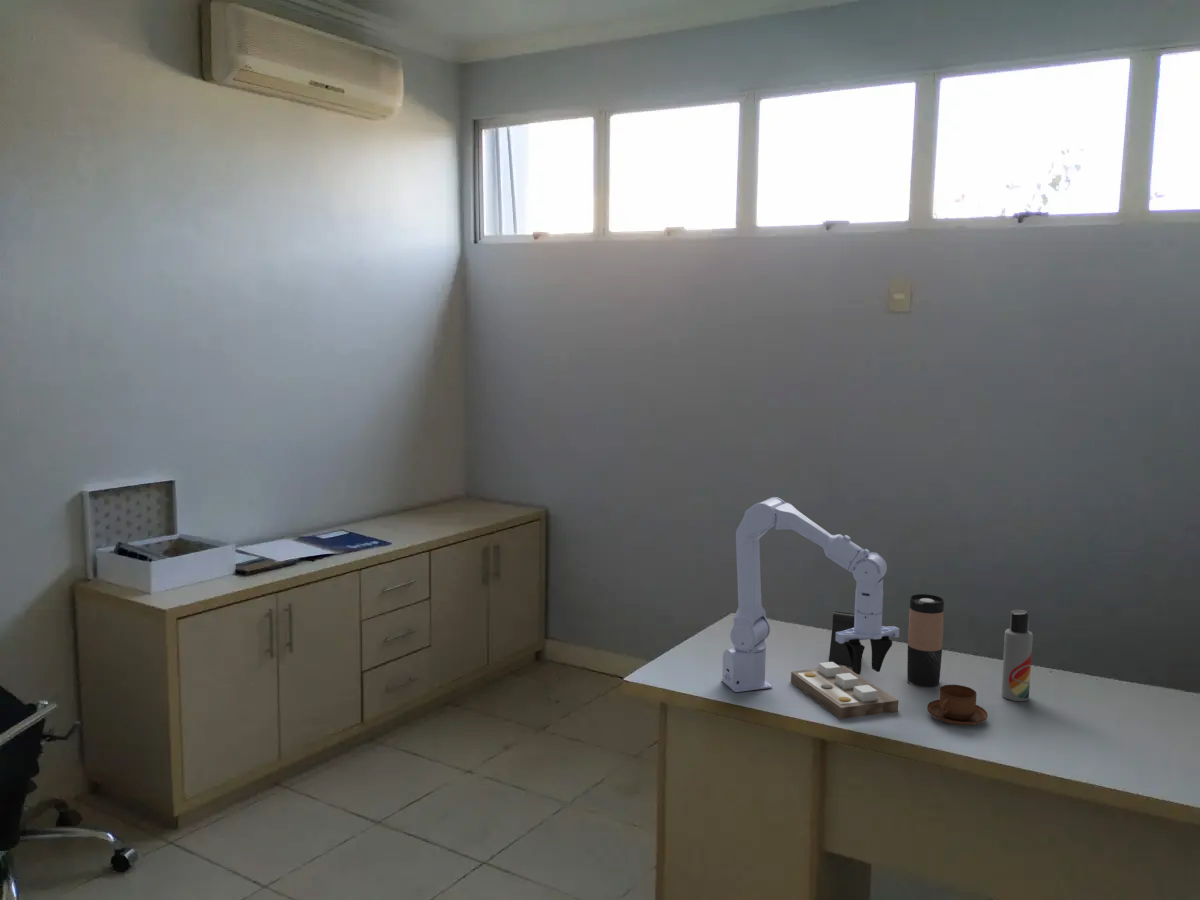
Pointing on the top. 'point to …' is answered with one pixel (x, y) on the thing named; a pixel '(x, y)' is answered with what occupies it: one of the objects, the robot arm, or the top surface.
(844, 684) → the button middle
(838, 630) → the phone stand
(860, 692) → the button front
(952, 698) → the cup and saucer
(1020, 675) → the lotion bottle
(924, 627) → the travel mug
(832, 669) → the button back
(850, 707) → the button board
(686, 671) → the top surface
